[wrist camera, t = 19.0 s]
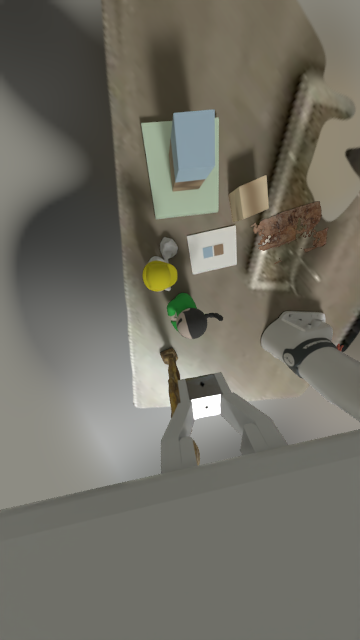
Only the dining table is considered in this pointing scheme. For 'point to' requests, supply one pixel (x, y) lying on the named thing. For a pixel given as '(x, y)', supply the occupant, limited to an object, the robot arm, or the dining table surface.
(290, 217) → the bark
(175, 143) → the blue brick
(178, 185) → the walnut brick
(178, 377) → the sculpture
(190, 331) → the toy
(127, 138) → the dining table surface
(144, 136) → the plate
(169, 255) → the figurine
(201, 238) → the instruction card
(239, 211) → the oak brick
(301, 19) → the dining table surface
